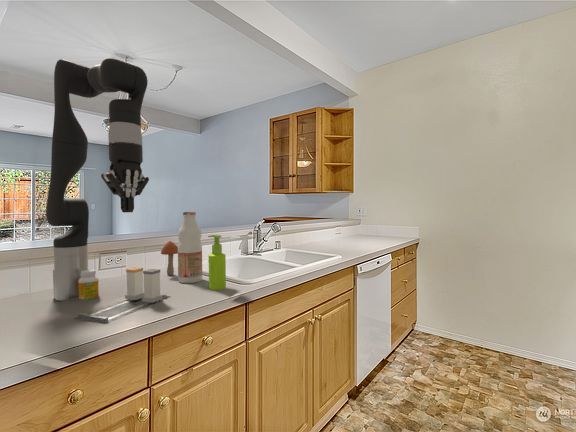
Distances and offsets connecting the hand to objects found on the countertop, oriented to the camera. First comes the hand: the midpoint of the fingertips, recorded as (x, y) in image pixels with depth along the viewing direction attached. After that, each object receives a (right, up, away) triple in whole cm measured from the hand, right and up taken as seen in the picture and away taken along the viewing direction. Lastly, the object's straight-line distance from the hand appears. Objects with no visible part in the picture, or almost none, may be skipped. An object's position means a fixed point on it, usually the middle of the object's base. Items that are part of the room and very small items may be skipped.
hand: (127, 212), depth 77 cm
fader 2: (-1, -27, +16) cm, 32 cm away
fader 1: (-7, -27, +19) cm, 34 cm away
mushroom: (-11, -27, +57) cm, 64 cm away
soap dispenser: (+15, -28, +32) cm, 45 cm away
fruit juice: (+1, -28, +46) cm, 54 cm away
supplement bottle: (-24, -29, +21) cm, 43 cm away
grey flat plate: (-6, -29, +12) cm, 32 cm away
